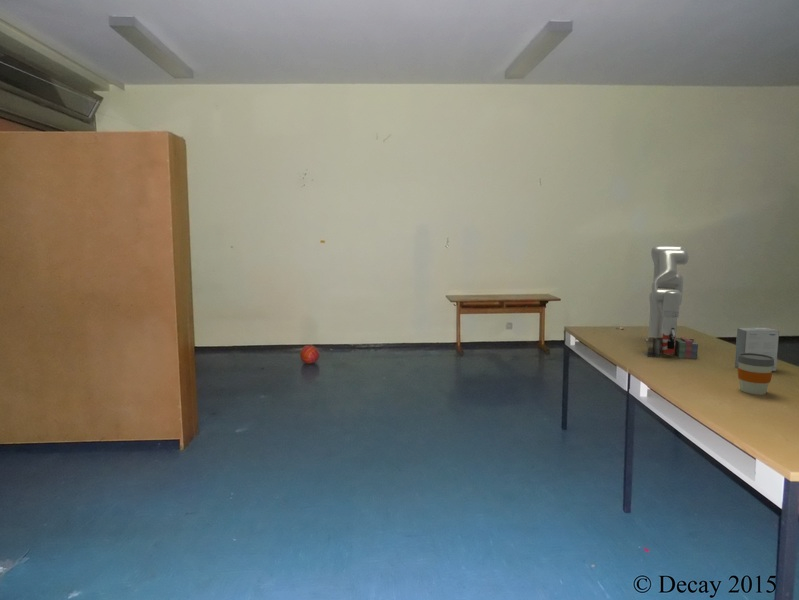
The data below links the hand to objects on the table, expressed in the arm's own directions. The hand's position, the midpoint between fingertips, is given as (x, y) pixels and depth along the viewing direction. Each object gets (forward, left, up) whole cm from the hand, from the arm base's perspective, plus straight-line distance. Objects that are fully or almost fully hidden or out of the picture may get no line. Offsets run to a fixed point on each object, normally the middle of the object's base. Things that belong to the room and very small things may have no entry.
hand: (668, 346), depth 270 cm
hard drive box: (+18, +34, -6) cm, 39 cm away
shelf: (-4, +3, -5) cm, 8 cm away
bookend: (-3, -8, -6) cm, 10 cm away
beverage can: (0, 0, -4) cm, 4 cm away
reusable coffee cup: (+58, +16, -6) cm, 61 cm away
